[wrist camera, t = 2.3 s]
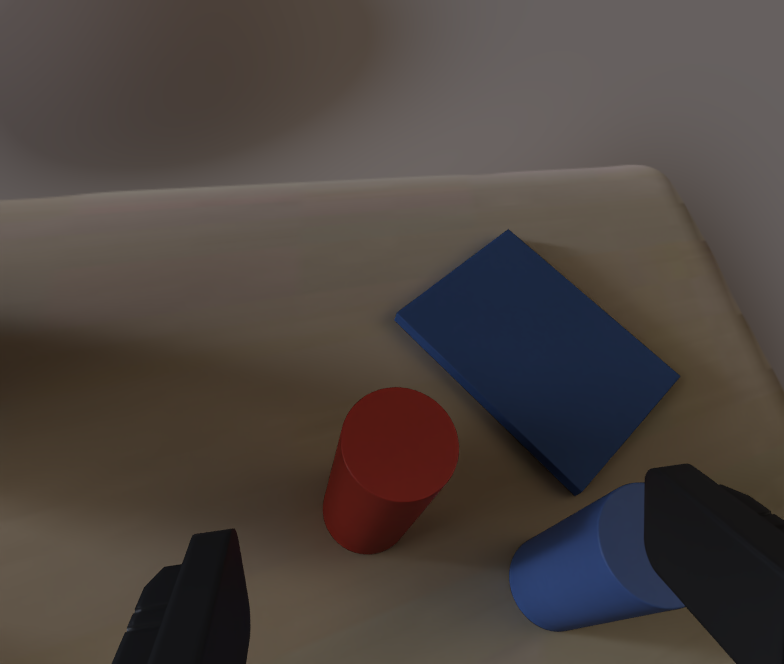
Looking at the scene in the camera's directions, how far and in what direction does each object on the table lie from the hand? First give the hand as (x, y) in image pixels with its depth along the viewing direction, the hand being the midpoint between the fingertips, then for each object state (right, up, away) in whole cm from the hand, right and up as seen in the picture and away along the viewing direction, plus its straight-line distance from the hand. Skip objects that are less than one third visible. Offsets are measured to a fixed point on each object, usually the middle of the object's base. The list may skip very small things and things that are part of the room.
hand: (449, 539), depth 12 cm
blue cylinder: (+8, -10, +22) cm, 26 cm away
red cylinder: (-3, -6, +23) cm, 24 cm away
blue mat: (+9, +3, +30) cm, 31 cm away
